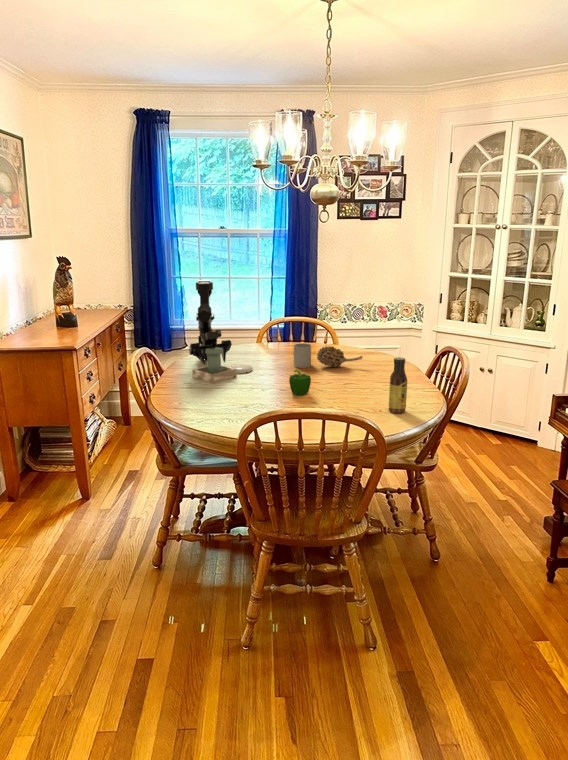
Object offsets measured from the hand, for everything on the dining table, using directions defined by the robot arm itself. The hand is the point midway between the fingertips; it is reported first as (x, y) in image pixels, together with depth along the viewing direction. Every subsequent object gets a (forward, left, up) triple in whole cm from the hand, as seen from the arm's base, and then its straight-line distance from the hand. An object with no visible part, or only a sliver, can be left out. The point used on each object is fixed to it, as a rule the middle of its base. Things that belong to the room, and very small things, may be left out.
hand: (214, 363), depth 250 cm
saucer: (-1, +16, -7) cm, 17 cm away
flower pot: (-1, +1, -7) cm, 7 cm away
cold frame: (-1, +1, -7) cm, 7 cm away
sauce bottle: (+85, +17, -7) cm, 87 cm away
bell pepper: (+45, +8, -7) cm, 46 cm away
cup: (+15, +42, -7) cm, 45 cm away
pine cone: (+30, +52, -7) cm, 60 cm away
